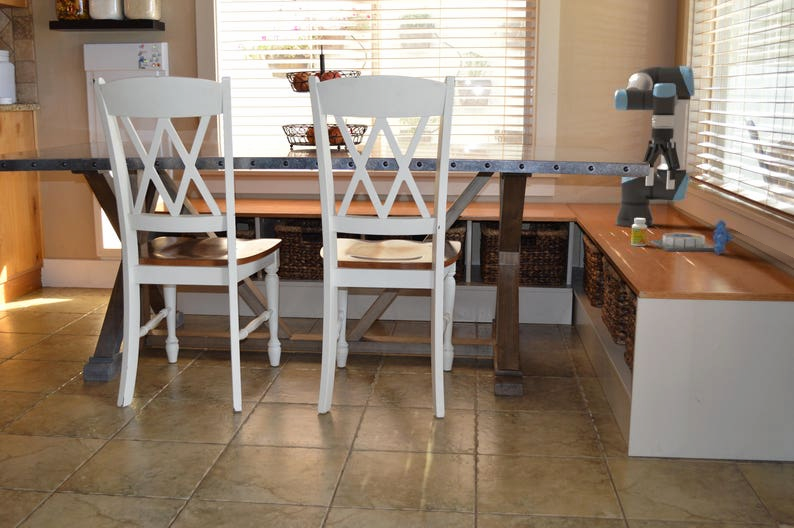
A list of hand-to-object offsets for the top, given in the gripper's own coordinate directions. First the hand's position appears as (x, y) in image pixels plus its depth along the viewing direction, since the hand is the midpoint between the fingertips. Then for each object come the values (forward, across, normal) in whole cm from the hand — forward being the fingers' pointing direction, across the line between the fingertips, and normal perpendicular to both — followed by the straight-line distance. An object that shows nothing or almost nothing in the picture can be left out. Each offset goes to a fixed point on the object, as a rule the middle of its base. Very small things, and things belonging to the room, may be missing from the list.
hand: (659, 187), depth 323 cm
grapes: (+21, +23, +11) cm, 33 cm away
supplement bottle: (+21, -2, -6) cm, 22 cm away
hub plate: (+21, +6, +7) cm, 23 cm away
